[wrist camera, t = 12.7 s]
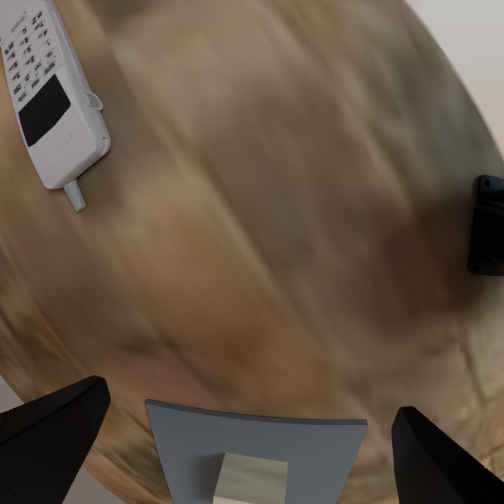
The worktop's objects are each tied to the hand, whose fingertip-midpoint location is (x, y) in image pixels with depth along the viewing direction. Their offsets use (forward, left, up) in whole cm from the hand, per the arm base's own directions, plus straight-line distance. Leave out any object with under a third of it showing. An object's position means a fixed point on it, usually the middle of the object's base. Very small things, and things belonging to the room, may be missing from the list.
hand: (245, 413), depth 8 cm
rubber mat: (+1, +21, -12) cm, 24 cm away
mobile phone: (+18, -16, -12) cm, 27 cm away
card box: (+1, +21, -11) cm, 24 cm away
